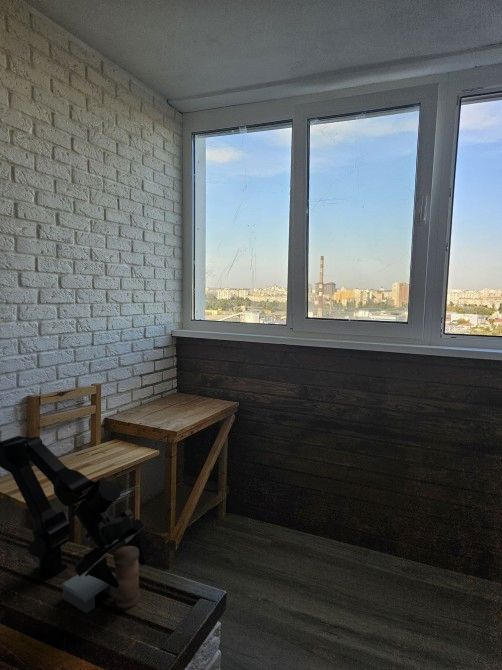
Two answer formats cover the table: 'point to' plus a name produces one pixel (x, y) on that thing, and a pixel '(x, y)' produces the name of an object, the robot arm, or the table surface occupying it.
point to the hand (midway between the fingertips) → (131, 575)
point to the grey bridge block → (85, 591)
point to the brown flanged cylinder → (127, 576)
